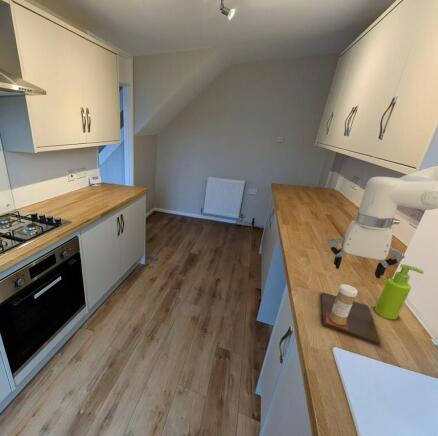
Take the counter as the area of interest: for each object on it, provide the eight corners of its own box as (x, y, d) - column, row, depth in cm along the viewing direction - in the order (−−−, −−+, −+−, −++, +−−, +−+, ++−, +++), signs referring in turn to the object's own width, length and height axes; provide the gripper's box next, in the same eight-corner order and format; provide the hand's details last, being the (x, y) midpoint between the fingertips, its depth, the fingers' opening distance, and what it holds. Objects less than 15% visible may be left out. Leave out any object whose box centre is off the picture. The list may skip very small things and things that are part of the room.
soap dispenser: (399, 323, 82) (423, 274, 75) (373, 312, 87) (393, 265, 80) (402, 315, 85) (425, 267, 78) (376, 305, 90) (395, 259, 83)
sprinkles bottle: (332, 314, 84) (344, 282, 79) (348, 322, 80) (360, 289, 75) (326, 318, 82) (337, 286, 77) (341, 327, 78) (354, 293, 73)
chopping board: (321, 294, 96) (322, 291, 96) (367, 308, 89) (368, 305, 88) (323, 325, 80) (324, 322, 80) (378, 345, 73) (379, 342, 73)
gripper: (411, 222, 67) (391, 274, 72) (335, 211, 76) (322, 259, 82) (420, 230, 61) (397, 287, 66) (336, 218, 70) (322, 268, 76)
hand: (356, 271), depth 74 cm, fingers open, 9 cm apart
